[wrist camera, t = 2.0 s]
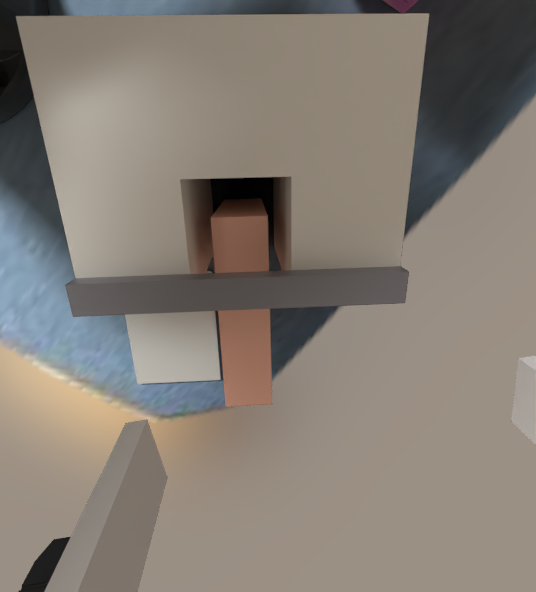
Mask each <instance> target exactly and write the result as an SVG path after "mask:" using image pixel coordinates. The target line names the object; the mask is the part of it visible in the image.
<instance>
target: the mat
mask: <svg viewBox="0 0 536 592" xmlns="http://www.w3.org/2000/svg"><path fill="white" fill-rule="evenodd" d="M206 273H212V271H206ZM125 318H126V323H127V329H128V334H129V340H130V345H131V351H132V356H133V361H134V367H135V372H136V378H137V383H138V384H148V383H168V382H189V381H209V380H221V374H220V362H219V350H218V337H217V325H216V313H215V311H201V312H177V313H153V314H129V315H125Z"/></svg>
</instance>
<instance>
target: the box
mask: <svg viewBox="0 0 536 592" xmlns="http://www.w3.org/2000/svg"><path fill="white" fill-rule="evenodd" d="M382 1H384V2H385V3H387V4H388V5H390V6H391V7H393V8H394V9H396V10H397V11H398V12H400V13H401V14H405V13H406V12H407V11H408V10H409V9H410V8H411V7H412V6H413V5H414V4H415V3H416V2H417V1H418V0H382Z"/></svg>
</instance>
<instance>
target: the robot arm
mask: <svg viewBox="0 0 536 592" xmlns="http://www.w3.org/2000/svg"><path fill="white" fill-rule="evenodd" d="M16 16H49V12H48V6H47V1H46V0H0V123H2V122H4V121H6V120H8V119H9V118H11V117H12V116H14V115H15V114H17V113H18V112H19V111H20V110H21V109H22V108H23V107H24V106H25V105H26V104H27V103H28V102H29V101H30V99H31V98H32V97H33V95H34V94H33V90H32V86H31V81H30V77H29V72H28V68H27V64H26V59H25V55H24V51H23V46H22V42H21V37H20V33H19V29H18V24H17V20H16ZM511 422H512V423H514V424H515V425H516V426H517V427H518V428H519V429H520V430H521V431H522V432H523V433H524V434H525V435H526V436H527V437H528V438H529V439H530V440H531V441H532V442H533V443H534V444H535V445H536V355H535V356H529V357H523V358H518V367H517V375H516V384H515V393H514V402H513V410H512V419H511ZM166 481H167V475H166V472H165V469H164V466H163V464H162V460H161V458H160V455H159V452H158V449H157V446H156V443H155V440H154V438H153V435H152V432H151V429H150V426H149V423H148V420H141V421H135V422H130V423H125V425H124V428H123V430H122V432H121V434H120V436H119V438H118V440H117V442H116V444H115V446H114V448H113V451H112V452H111V455H110V457H109V459H108V461H107V463H106V465H105V467H104V469H103V471H102V473H101V475H100V477H99V480H98V481H97V484H96V486H95V488H94V490H93V492H92V494H91V496H90V498H89V500H88V502H87V504H86V506H85V509H84V511H83V513H82V515H81V517H80V519H79V521H78V523H77V525H76V527H75V529H74V531H73V533H72V535H71V537H66V538H60V539H54V540H53V541H52V542H51V543H50V544H49V546H48V547H47V548H46V549H45V550H44V552H43V553H42V554H41V555H40V556H39V557H38V559H37V560H36V561H35V562H34V564H33V566H32V568H31V570H30V571H29V573H28V575H27V577H26V579H25V581H24V583H23V584H22V589H21V591H19V592H138V588H139V584H140V580H141V577H142V573H143V569H144V565H145V561H146V557H147V554H148V550H149V546H150V542H151V539H152V534H153V531H154V527H155V523H156V519H157V516H158V512H159V508H160V504H161V500H162V497H163V493H164V489H165V485H166Z"/></svg>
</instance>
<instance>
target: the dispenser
mask: <svg viewBox="0 0 536 592" xmlns="http://www.w3.org/2000/svg"><path fill="white" fill-rule="evenodd" d="M16 20H17V24H18V29H19V33H20V37H21V42H22V46H23V51H24V55H25V59H26V64H27V68H28V72H29V77H30V81H31V86H32V90H33V94H34V99H35V103H36V107H37V112H38V116H39V121H40V125H41V129H42V134H43V138H44V142H45V147H46V151H47V156H48V160H49V164H50V169H51V173H52V178H53V182H54V186H55V191H56V195H57V199H58V204H59V208H60V213H61V217H62V221H63V226H64V230H65V234H66V239H67V243H68V248H69V252H70V256H71V261H72V265H73V269H74V274H75V279H73V280H72V281H70V282H69V283H67V284H66V285H65V286H66V290H67V294H68V298H69V302H70V307H71V311H72V315H73V317H80V316H104V315H129V314H153V313H177V312H201V311H226V310H250V309H274V308H298V307H322V306H347V305H369V304H370V305H371V304H395V303H405V299H406V291H407V284H408V275H409V272H408V271H407V270H405V269H404V268H402V267H401V266H400V265H401V256H402V248H403V239H404V230H405V221H406V213H407V204H408V195H409V187H410V178H411V169H412V160H413V152H414V143H415V134H416V126H417V117H418V108H419V99H420V91H421V82H422V73H423V65H424V56H425V47H426V39H427V30H428V21H429V13H410V14H263V15H115V16H16ZM253 177H273V211H274V247H275V250H276V254H277V257H278V260H279V263H280V266H281V269H282V271H257V272H230V273H206V271H207V269H208V266H209V264H210V261H211V259H212V256H213V241H212V229H211V217H212V215H213V203H212V190H211V179H214V178H253Z"/></svg>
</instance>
